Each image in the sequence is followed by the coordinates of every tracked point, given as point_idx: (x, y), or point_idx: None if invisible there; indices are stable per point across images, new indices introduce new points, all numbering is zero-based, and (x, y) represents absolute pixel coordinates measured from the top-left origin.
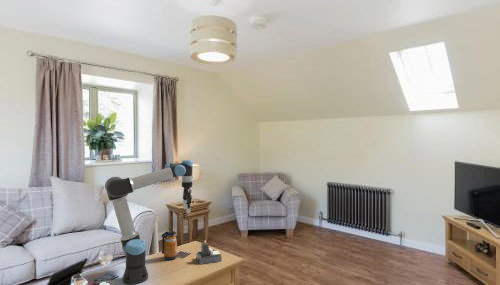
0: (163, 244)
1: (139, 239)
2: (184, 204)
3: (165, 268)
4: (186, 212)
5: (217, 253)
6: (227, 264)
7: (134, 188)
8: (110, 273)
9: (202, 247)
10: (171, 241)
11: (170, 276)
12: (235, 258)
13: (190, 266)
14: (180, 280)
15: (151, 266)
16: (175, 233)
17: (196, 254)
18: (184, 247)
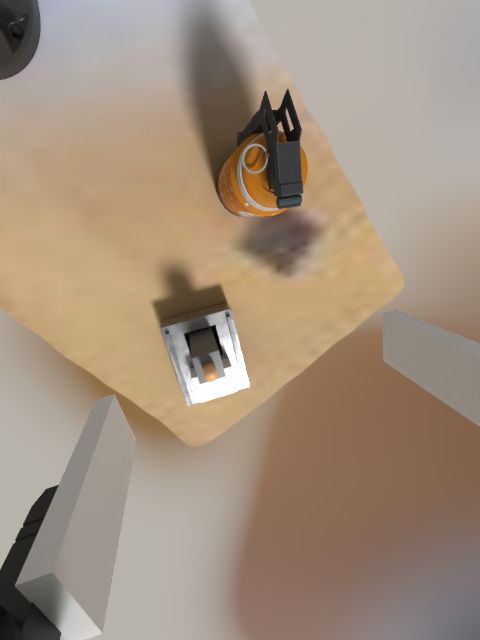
0: (249, 129)
1: None
2: (442, 358)
3: (119, 171)
4: (109, 398)
5: (202, 393)
6: (156, 413)
7: None
8: None
9: (193, 352)
10: (237, 182)
11: (23, 203)
12: (209, 433)
13: (140, 284)
14: None
15: (145, 90)
16: (277, 205)
17: (227, 307)
18: (357, 244)
